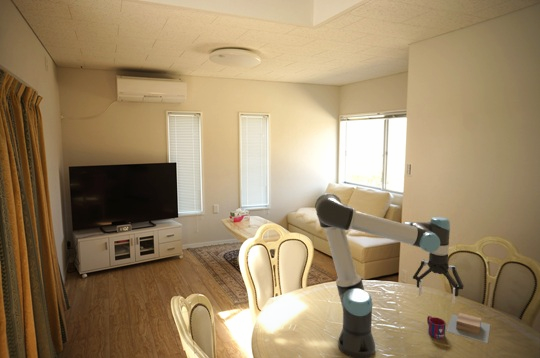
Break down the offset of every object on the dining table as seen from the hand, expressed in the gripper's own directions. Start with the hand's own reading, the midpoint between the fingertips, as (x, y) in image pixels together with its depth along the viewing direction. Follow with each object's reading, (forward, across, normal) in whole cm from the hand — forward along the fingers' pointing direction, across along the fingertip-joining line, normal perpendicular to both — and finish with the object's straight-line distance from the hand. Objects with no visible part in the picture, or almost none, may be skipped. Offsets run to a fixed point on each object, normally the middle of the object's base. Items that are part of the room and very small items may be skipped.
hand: (436, 298), depth 152 cm
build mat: (+16, -12, -13) cm, 24 cm away
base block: (+16, -12, -13) cm, 24 cm away
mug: (+17, 0, 0) cm, 17 cm away
